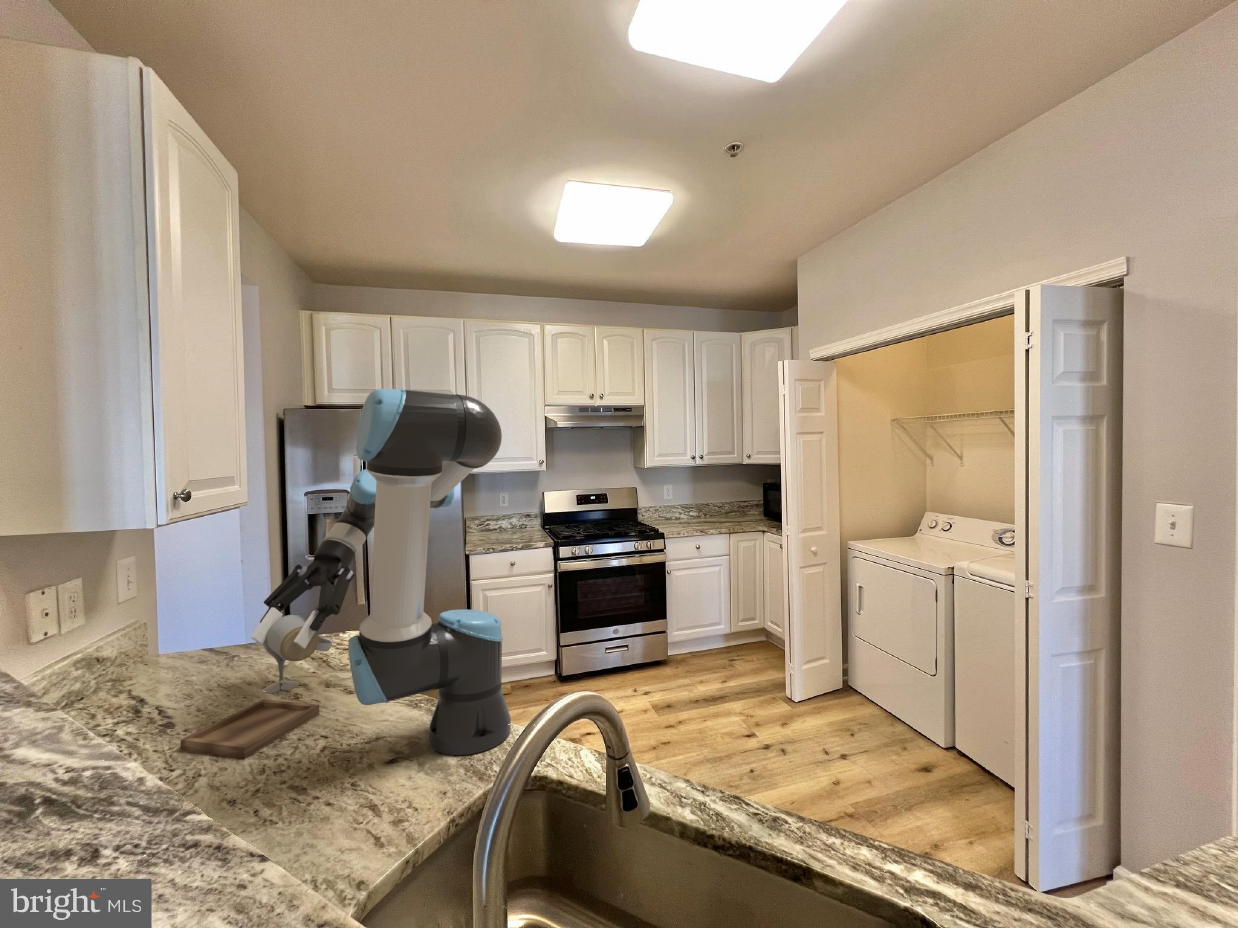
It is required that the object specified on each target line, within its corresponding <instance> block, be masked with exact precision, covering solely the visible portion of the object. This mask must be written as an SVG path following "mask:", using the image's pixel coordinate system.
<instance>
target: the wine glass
mask: <svg viewBox="0 0 1238 928" xmlns="http://www.w3.org/2000/svg"><path fill="white" fill-rule="evenodd" d="M262 646H263V649H264V651H266V653H268V654H269V655H270V656H271V657H272V658H273V659H274V660H276V663H277V665H278V675H279V676H278V677H279V678H278V681H277V682H273V683H270V684H271V685H270V684H269V686H268V685H267V687H266V686H265V687H266V688H265V687H264V688H265V689H264V688H263V689H264V691H266V694H276V693H282V692H283V691H284V692H287V691H290V690H292V688H293V689H295V688H297V687H298V686H299V684H300V682H299V681H298V680H292V679H291V680H284V668H285V663H286V661H287V660H285V659H283V658H282V657H280V656H279V655H278V654H277V653H275V652H274V651H273V650H272V649H270V647H269V646H268V643H267V638H266V640H265V641H264V643H263V644H262Z"/></svg>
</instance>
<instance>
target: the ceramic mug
mask: <svg viewBox="0 0 1238 928" xmlns="http://www.w3.org/2000/svg"><path fill="white" fill-rule="evenodd" d="M306 621H307V619H306V618H304V617H303V616H300V615H297V614H288V615H284V616H281V617H280V619H278V620H277V621H276V622H274V623H273V625H272V626H271V627H270V629H269V631H268V633H267V643H268V646H269V647H270V649H272V650H273V651H274V652H275V653H277V654H278V655H279V656H280V657H282V658H283V659H285V660H286V661H288V662H295V663H296V662H301V661H304V660H305V659H308V658H309V657H311V655H312V654H314V653H315V651H320V652H329V651H330V649H331V648H332V645H333V642H332V641H331V640H329V639H327V638H324V637H322V636H320V635H319V632H318V631H315V633H314V635H313V636H312V638H311V640H310V641H309V643H308V644H307V646H306V648H301V647H300V646H299V645H297V644H296V643H295V642H294V640H295V638H296V637H297V635H298V634H299V632H300V631H301V629H302V627H303V626H304V624H305V623H306Z"/></svg>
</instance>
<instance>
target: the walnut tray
mask: <svg viewBox="0 0 1238 928" xmlns="http://www.w3.org/2000/svg"><path fill="white" fill-rule="evenodd" d="M320 708H321V705H320V704H313V703H303V702H293V701H283V700H274V699H260V700H259V701H258V702H254V703H253V704H251V705H249V706H247V707H245V708H243V709H241V710H238V711H237V712H235V713H232V714H230V715H228V716H226V717H224V718H222V719H221V720H219V721H216V722H214V723H211V724H210V725H208V726H206V727H204V728H201V729H200V730H197V731H195V732H193V733H191V734H190V735H187V736H186V737H184V738H181V739H180V752H186V753H187V752H188V753H194V754H200V755H201V754H202V755H211V756H217V757H224V758H225V757H226V758H232V759H233V758H234V759H241V760H246V759H247V758H249V757H251V756H252V755H255V754H256V753H257V752H259V751H260V750H259V749H261V748H263V747H264V746H266V745H268V744H269V743H271V742H273V741H274V740H276V739H278V738H279V739H281V738H282V736H283V737H284V736H286V735H287V734H286V733H288V734H290V733H291V732H293V731H295V730H296V729H298V728H300V727H301V726H302V725H304V723H305V724H306V723H308V722H309V721H311V720H313V719H315V718H317V717H318V716H320V714H321V713H320V710H321V709H320ZM299 726H300V727H299ZM295 728H296V729H295ZM294 729H295V730H294ZM292 730H293V731H292ZM290 731H291V732H290ZM285 734H286V735H285ZM280 737H281V738H280ZM279 739H278V740H279ZM276 741H277V740H276ZM274 742H275V741H274ZM274 742H273V743H274ZM271 744H272V743H271ZM269 745H270V744H269ZM269 745H268V746H269ZM266 747H267V746H266ZM264 748H265V747H264ZM264 748H263V749H264ZM258 750H259V751H258ZM261 750H262V749H261ZM256 751H257V752H256ZM255 752H256V753H255Z"/></svg>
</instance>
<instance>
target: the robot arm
mask: <svg viewBox="0 0 1238 928" xmlns="http://www.w3.org/2000/svg"><path fill="white" fill-rule="evenodd" d="M359 416H360V417H359V421H358V424H357V425H358V426H357V432H356V447H355V449H356V456H357V458H358V460H360V461H363V462H366V469H362V470H360V472H358V473H357V474H356V476H355V477H354V478H353V480H352V483H351V486H350V488H349V495H348V498H347V502H346V505H345V508H344V510H343V512H342V513H341V515H340V517H338V520H337V521H336V522H335V523H334V525H333V526H332V527H331V529H330V530H329V532H328V533H327V534H326V536H325V537H324V540H323V541H322V542H320V545H319V546H318V548H317V549H316V550H315V552H314V555H313V561H312V562H311V563H310V564H309V565H307V566H302V565H301V564H299V563H298V564H296V565H295V566H294V568H293V569H292V571H291V573H290V574H289V575H288V576H287V577H286V578H285V579H284V580H283V581H282V582H281V583H280V584H279V585H278V586H277V587H276V588H275V589H274V590H273V591H272V592H271V593H270V594H269V596H268V597H266V599H264V601H263V604H264V605H265V606H267V607H268V609H267V610H266V612H265V613H264V615H263V616H262V618H261V619H260V621H259V625H257V627H256V629H255V631H253V633H252V634H251V635H250V638H251V639H252V640H254V641H255V642H256V643H257V644H259V645H263V643H264V641H265V640H266V638H267V633H268V631H269V629H270V627H271V626H272V625H273V623H274V622H276V621H277V620H278V619H280V618H282V617H283V614H284V613H282V611H283V610H285V609H286V608H287V607H288V606H290V605H291V604H292V603H293V602H294V601H296V600H297V599H298V598H299V597H300V596H301V595H303V594H304V593H305V592H307V591H310V590H312V589H313V588H315V587H320V590H319V598H318V605H317V607H315V609H316V610H313V611H311V613H310V615H309V616H308V618H307V619H306V623H305V624H304V626H303V627H302V629H301V631H300V632H299V634H298V635H297V637H296V638H295V640H294V642H295V643H296V644H297V645H299V646H300V647H301V648H306V646H307V644H308V643H309V641H310V640H311V638H312V636H313V635H314V633H315V631H317V632H318V631H319V630H320V629H321V627H322V625H323V624H324V622H325V620H326V619H327V618H328V617H330V616H331V615H334V616H337V615H339V614H340V612H341V609H342V606H343V603H344V602H345V601H344V600H345V598H346V595H347V591H348V589H349V586H350V584H351V582H352V581H353V579H354V578H355V576H356V574H355V572H353V570H351V568H350V566H351V564H352V563H353V561H354V559H355V558H356V555H357V554H358V553H359V551H360V550H361V549H362V546H363V544H364V543H365V542H366V540H367V538H368V536H369V535H370V533H371V532H372V530H373V545H372V546H373V547H372V548H373V549H372V567H371V583H370V584H371V589H370V591H371V592H370V606H369V611H370V612H369V615H368V616H366V618H364V619H363V620H362V621H361V623H360V625H359V628H358V629H359V630H358V632H359V634H358V635H356V634H355V635H354V636H352V637H350V638H348V640H347V643H348V644H347V648H348V649H347V650H348V652H347V653H348V661H349V665H350V673H351V677H352V682H353V687H354V691H355V696H356V698H357V701H358V702H359V703H360V704H361V705H364V706H372V705H377V704H382V703H385V704H388V703H390V702H391V701H394V700H395V701H397V700H400V699H403V698H406V697H411V696H416V695H419V694H424V693H428V692H431V691H432V692H433V691H436V690H438V697H437V701H436V704H435V708H434V711H433V714H432V717H431V720H430V723H429V727H428V744H429V746H430V747H431V749H433V750H434V751H436V752H438V753H441V754H444V755H451V756H464V755H465V756H467V755H473V754H477V753H482V752H484V751H489V750H491V749H492V748H495V747H497V746H498V745H500V744H502V743H503V742H504V741H506V739H507V738H508V737H509V736H510V733H511V731H512V730H511V729H512V728H511V724H512V723H511V720H512V719H511V714H510V711H509V708H508V704H507V701H506V700H505V696H504V694H503V691H502V690H503V689H502V685H503V684H502V676H503V675H502V672H503V670H502V668H503V667H502V665H503V663H502V659H503V657H502V656H503V653H502V651H503V650H502V649H503V640H504V639H503V635H502V621H501V620H500V618H499V617H498V616H497V615H496V614H494V613H491V612H488V611H484V610H483V611H482V610H477V609H451V610H446V611H443V612H441V613H440V614H439V617H438V618H437V622H435V623H432V617H430V616H429V615H428V614H427V613H426V612H424V610H425V609H424V607H425V596H426V595H425V593H426V592H425V591H426V578H427V563H428V562H427V559H428V543H429V532H430V531H429V527H430V514H431V513H430V511H431V509H439V508H448V507H450V506H451V505H452V504H453V500H454V498H455V488H456V487H457V486H459V484H460V483H461V482H462V481H463V480H464V479H466V477H467V476H468V475H470V474H471V472H472V471H474V470H476V469H480V468H483V467H485V466H486V465H488V464H489V463H490V462H491V461H492V460H493V459H494V458H495V457H496V456H497V454H498V452H499V451H500V448H501V444H502V438H503V434H502V433H503V432H502V429H501V425H500V422H499V420H498V418H497V417H496V415H495V413H494V412H493V411H492V410H491V408H489V407H488V406H487V405H486V404H485V403H483V402H482V401H480V400H479V399H476V398H475V397H472V396H469V395H465V394H451V393H443V392H442V393H441V392H431V391H422V390H420V391H419V390H410V389H404V388H378V389H374V390H373V391H372V392H370V393H369V394H368V395H367V397H366V399H365V401H364V402H363V407H362V409H361V412H360V415H359ZM508 724H510V725H508Z"/></svg>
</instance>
